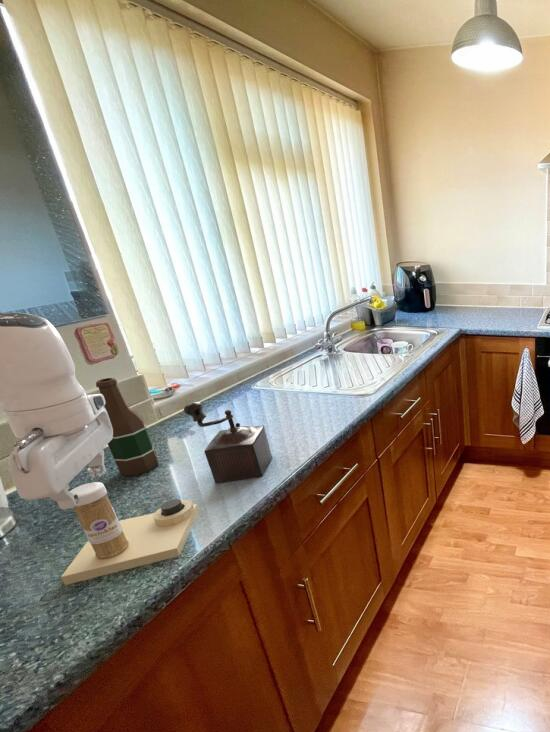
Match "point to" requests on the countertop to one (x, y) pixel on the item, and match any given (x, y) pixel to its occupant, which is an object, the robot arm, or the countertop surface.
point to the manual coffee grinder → (234, 448)
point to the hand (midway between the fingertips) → (85, 489)
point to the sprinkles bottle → (99, 520)
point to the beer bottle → (127, 433)
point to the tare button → (171, 507)
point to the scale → (138, 544)
